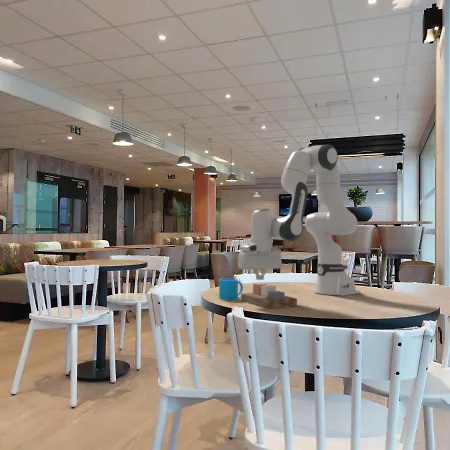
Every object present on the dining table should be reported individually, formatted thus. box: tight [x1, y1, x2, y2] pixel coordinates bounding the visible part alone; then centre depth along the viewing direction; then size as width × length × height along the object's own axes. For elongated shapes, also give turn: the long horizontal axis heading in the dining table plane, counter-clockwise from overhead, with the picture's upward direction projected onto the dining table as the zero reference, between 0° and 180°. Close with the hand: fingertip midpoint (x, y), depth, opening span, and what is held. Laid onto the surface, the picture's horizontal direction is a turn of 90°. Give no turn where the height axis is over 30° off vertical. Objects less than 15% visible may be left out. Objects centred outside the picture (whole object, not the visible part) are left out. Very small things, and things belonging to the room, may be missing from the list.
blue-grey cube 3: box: [269, 290, 286, 300], centre depth 171 cm, size 4×4×4 cm
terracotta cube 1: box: [252, 282, 269, 295], centre depth 182 cm, size 4×4×4 cm
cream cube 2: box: [261, 284, 277, 297], centre depth 176 cm, size 4×4×4 cm
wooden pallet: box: [240, 292, 298, 309], centre depth 176 cm, size 14×20×3 cm
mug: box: [218, 278, 244, 301], centre depth 189 cm, size 12×8×8 cm
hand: (260, 279), depth 181 cm, fingers closed
